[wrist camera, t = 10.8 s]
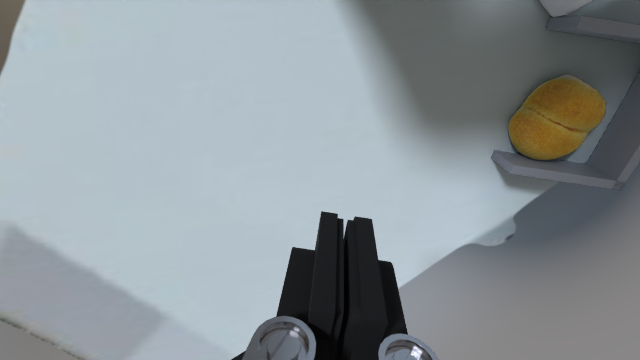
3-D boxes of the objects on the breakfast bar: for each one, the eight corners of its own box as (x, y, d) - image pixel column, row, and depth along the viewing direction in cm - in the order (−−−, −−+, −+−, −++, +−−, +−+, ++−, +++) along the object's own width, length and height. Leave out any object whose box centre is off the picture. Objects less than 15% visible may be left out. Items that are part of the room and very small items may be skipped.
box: (550, 17, 30) (582, 15, 26) (670, 36, 30) (721, 37, 26) (491, 158, 37) (509, 173, 33) (589, 173, 37) (620, 190, 33)
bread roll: (491, 138, 36) (507, 150, 32) (546, 64, 32) (572, 68, 28) (548, 166, 37) (570, 180, 33) (608, 98, 33) (641, 106, 29)
